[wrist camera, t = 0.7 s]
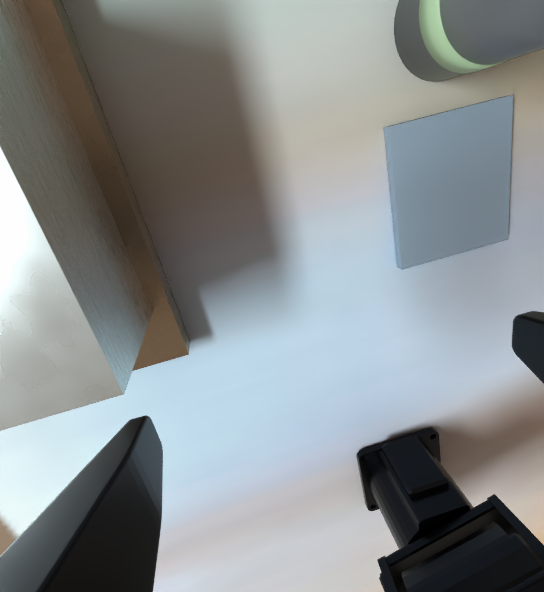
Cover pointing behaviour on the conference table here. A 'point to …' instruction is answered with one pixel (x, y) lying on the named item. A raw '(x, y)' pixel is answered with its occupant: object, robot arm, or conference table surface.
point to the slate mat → (450, 181)
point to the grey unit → (68, 234)
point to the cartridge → (465, 34)
